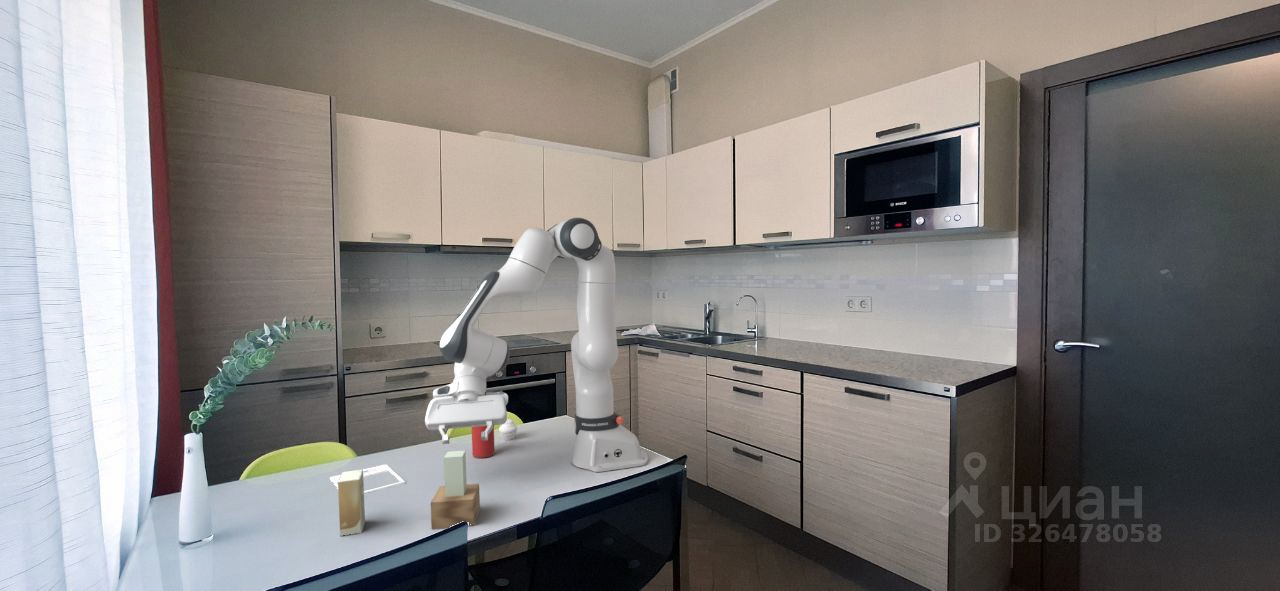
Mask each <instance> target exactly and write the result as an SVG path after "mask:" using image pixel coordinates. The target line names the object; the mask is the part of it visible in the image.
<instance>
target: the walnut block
mask: <svg viewBox="0 0 1280 591" xmlns="http://www.w3.org/2000/svg"><path fill="white" fill-rule="evenodd" d="M480 497H481V496H480V483H469V484H467V489H466V492H465V494H464V496H452V497H445V485H441V486H439V487H438V489H437V490H436V492H435V494H434V496H433V498H432V499H431V501H430V521H431V530H440V529H441V530H442V529H449V528H448V527H450V526H452V525H455V524H457V523H460V522H462V521H467V522H469V526H468V527H473V526H472V525H474V526H475V524H476V520H477V518H478V515H479V512H480V509H481V503H480V502H481V501H480V500H481V499H480ZM474 523H475V524H474ZM470 524H471V526H470Z"/></svg>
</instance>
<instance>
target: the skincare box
mask: <svg viewBox="0 0 1280 591" xmlns="http://www.w3.org/2000/svg"><path fill="white" fill-rule="evenodd" d="M339 475H340V478H339V480H338V490H337V492H338V493H337V494H338V518H339V536H340V537H344V536H343V535H345V536H350V535H349V534H351V535H356V534H355V533H357V534H361V533H360V532H362V533H363V531H364V527H365V524H366V515H365V514H366V510H365V494H364V491H365V490H364V489H365V484H364V477H363V469H355V470H348V471H342V472H341V474H339Z"/></svg>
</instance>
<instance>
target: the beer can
mask: <svg viewBox="0 0 1280 591" xmlns="http://www.w3.org/2000/svg"><path fill="white" fill-rule="evenodd" d="M486 428H487V426H477V427H471V444H472V445H471V450H472V451H471V452H472V457H474V458H475V459H487V458H490V457H492V456H493V455H494V454H495V451H496V450H495V425H493V429H492V430H491V432H490V433H489V434H488V440H485V441H482V439H481V432H484V431H485V430H486ZM486 457H487V458H486Z"/></svg>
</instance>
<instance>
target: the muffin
mask: <svg viewBox="0 0 1280 591" xmlns="http://www.w3.org/2000/svg"><path fill="white" fill-rule="evenodd" d="M498 432H499V434H500V436H501V438H502V440H503V441H506V440H507V441H512V440H514V439H515V436H516V434H517V432H518V426H517V425H516V424H515V423H514V420H513V419H511V418H507V421H506V422H505V423H504V424H501V425H499V428H498ZM511 439H512V440H511Z"/></svg>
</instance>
